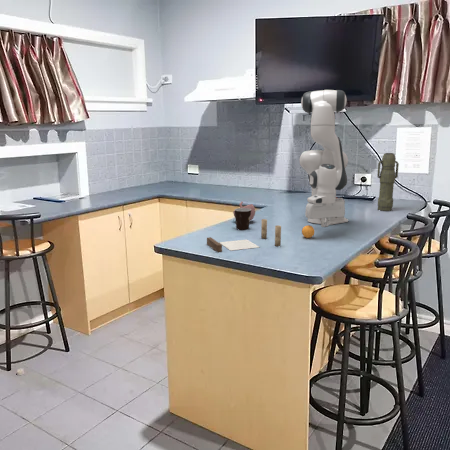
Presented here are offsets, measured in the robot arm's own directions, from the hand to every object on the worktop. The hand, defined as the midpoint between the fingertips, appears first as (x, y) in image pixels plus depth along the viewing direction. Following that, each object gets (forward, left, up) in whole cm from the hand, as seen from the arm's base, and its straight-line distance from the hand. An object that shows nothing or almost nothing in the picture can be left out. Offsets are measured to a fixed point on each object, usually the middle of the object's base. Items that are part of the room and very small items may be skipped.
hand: (324, 226), depth 226 cm
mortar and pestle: (+24, -42, -5) cm, 49 cm away
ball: (+9, 0, -2) cm, 9 cm away
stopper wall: (+57, 0, -5) cm, 57 cm away
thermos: (-71, -41, -5) cm, 82 cm away
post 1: (+29, -7, -5) cm, 30 cm away
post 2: (+29, +7, -5) cm, 30 cm away
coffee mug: (+32, -28, -5) cm, 43 cm away
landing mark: (+45, 0, -5) cm, 45 cm away
